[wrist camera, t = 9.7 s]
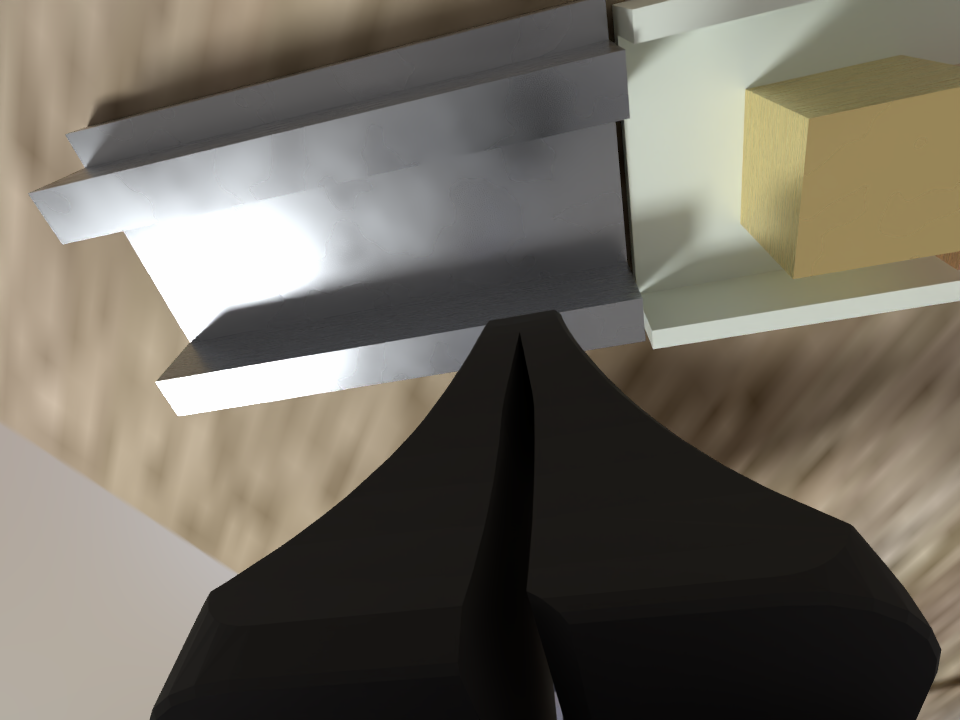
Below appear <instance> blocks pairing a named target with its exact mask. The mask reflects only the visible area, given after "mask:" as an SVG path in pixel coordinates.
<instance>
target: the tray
mask: <svg viewBox="0 0 960 720" xmlns="http://www.w3.org/2000/svg"><path fill="white" fill-rule="evenodd" d="M612 13H613V25H614V38H615V44H617V45H618V46H620V47H622V48H624V49H625V54H626V68H627V82H628V97H629V111H630V119H625V120H621V128H622V140H623V153H624V166H625V179H626V192H627V204H628V217H629V230H630V243H631V256H632V268H633V277H634V279H635V282H636V284H637V286H638V289H639V291H640V293H641V296H642V298H643V312H644V327H645V330H646V332H647V335H648V337H649V340H650V343H651V345H652V348H653V349H658V348H664V347H671V346H677V345H683V344H690V343H696V342H702V341H709V340H715V339H721V338H727V337H734V336H740V335H746V334H753V333H759V332H765V331H772V330H778V329H784V328H791V327H797V326H803V325H810V324H816V323H822V322H829V321H835V320H841V319H848V318H854V317H860V316H867V315H873V314H879V313H885V312H892V311H898V310H904V309H911V308H917V307H923V306H930V305H936V304H942V303H949V302H955V301H960V270H956V269H955V268H953V267H952V266H950V265H949V264H947V263H946V262H944V261H943V260H941V259H939V258H938V257H936V256H935V255H934V256H928V257H922V258H916V259H910V260H904V261H899V262H893V263H887V264H881V265H875V266H869V267H863V268H857V269H851V270H845V271H839V272H833V273H828V274H822V275H816V276H810V277H804V278H798V279H792V278H791V277H790V275H789V274H788V273H787V272H786V271H785V270H784V269H783V268H782V267H781V266H780V265H779V264H778V263H777V262H776V261H775V260H774V259H773V258H772V257H771V256H770V255H769V253H768V252H767V251H766V250H765V249H764V248H763V247H762V246H761V245H760V244H759V243H758V242H757V241H756V240H755V239H754V238H753V237H752V236H751V235H750V234H749V232H748V231H747V230H746V229H745V228H744V227H743V226H742V225H741V224H740V216H741V190H742V163H743V137H744V111H745V89H749V88H753V87H758V86H762V85H767V84H771V83H776V82H780V81H785V80H789V79H794V78H798V77H803V76H807V75H812V74H816V73H821V72H825V71H830V70H834V69H839V68H843V67H848V66H853V65H857V64H862V63H866V62H871V61H875V60H880V59H884V58H889V57H893V56H898V55H905V56H910V57H915V58H920V59H925V60H931V61H936V62H941V63H946V64H951V65H956V64H960V0H629V1H625V2H621V3H617V4H613V5H612Z"/></svg>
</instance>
